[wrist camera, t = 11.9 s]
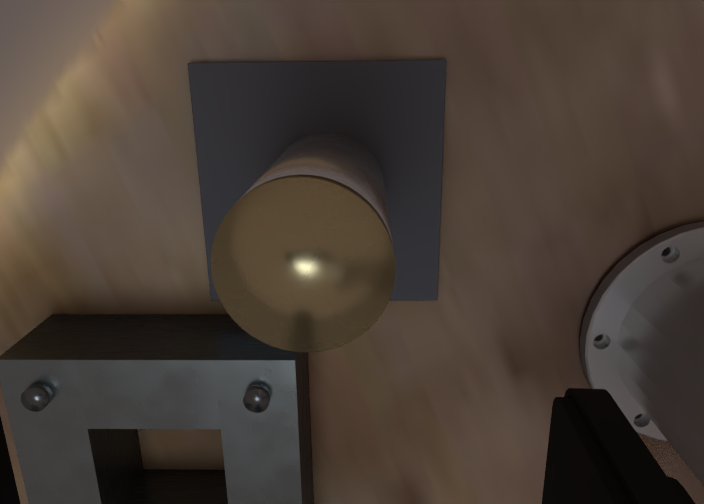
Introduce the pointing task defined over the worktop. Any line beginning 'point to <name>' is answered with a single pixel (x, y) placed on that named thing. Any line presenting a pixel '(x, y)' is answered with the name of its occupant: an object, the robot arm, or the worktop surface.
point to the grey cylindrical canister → (308, 247)
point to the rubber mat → (329, 116)
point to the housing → (156, 410)
